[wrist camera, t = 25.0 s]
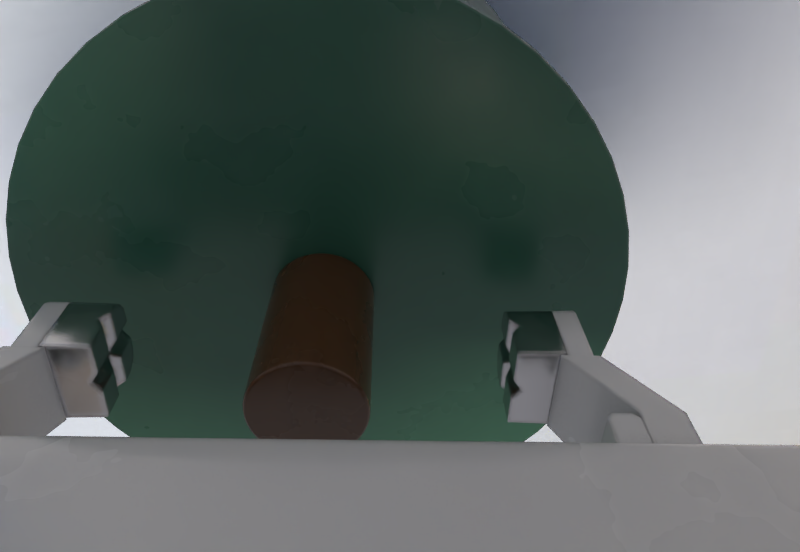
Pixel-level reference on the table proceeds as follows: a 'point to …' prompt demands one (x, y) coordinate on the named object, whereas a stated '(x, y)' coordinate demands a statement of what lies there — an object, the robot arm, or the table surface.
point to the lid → (316, 214)
